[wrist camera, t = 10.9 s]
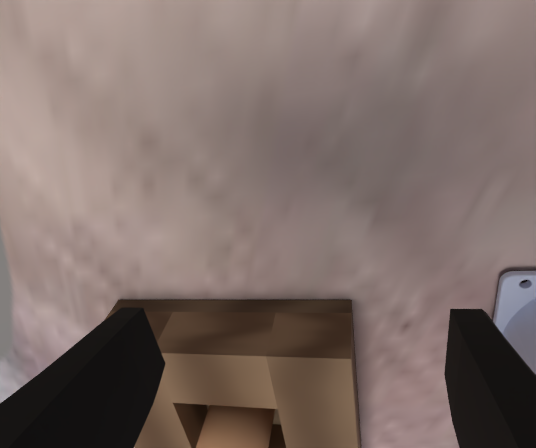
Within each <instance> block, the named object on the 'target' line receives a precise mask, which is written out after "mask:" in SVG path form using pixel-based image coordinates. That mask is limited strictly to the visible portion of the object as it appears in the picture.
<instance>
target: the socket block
mask: <svg viewBox="0 0 536 448" xmlns="http://www.w3.org/2000/svg"><path fill="white" fill-rule="evenodd" d="M122 307H134V308H144V311H145V313H146V316H147V318H148V321H149V323H150V326H151V328H152V331H153V333H154V336H155V338H156V341H157V343H158V346H159V348H160V351H161V353H162V356H163V358H164V361H165V363H166V364H165V368H164V371H163V374H162V378H161V381H160V385H159V388H158V391H157V394H156V397H155V400H154V403H153V406H152V408H151V410H150V413H149V415H148V417H147V419H146V422H145V424H144V426H143V428H142V431H141V433H140V435H139V437H138V439H137V442H136V444H135V446H134V447H135V448H196V446H197V443H198V440H199V436H200V433H201V430H202V427H203V424H204V421H205V418H206V415H207V412H208V409H209V406H210V405H219V406H235V407H252V408H268V409H275V413H274V419H273V424H272V430H271V436H270V442H269V447H268V448H361V434H360V419H359V404H358V390H357V375H356V360H355V345H354V330H353V315H352V300H118V302H117V303H116V304H115V306H114V307H113V309H112V310H111V312H110V313H109V314H108V316H107V317H106V319H107V318H108V317H110V316H111V315H112V314H113V313H115V312H116V311H117V310H119V309H120V308H122ZM106 319H105V320H106Z"/></svg>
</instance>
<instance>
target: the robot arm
mask: <svg viewBox="0 0 536 448" xmlns="http://www.w3.org/2000/svg"><path fill="white" fill-rule="evenodd" d="M523 280H528V281H527V282H525V283H520V282H521V281H523ZM165 364H166V363H165V361H164V358H163V356H162V353H161V351H160V348H159V346H158V343H157V341H156V338H155V336H154V333H153V331H152V328H151V326H150V323H149V321H148V318H147V316H146V313H145V311H144V308H134V307H122V308H120V309H119V310H117V311H116V312H115V313H113V314H112V315H111V316H110V317H108V318H107V319H106V320H104V321H103V322H102V323H101V324H100V325H98V326H97V327H96V328H95V329H93V330H92V331H91V332H90V333H89V334H87V335H86V336H85V337H84V338H83V339H81V340H80V341H79V342H78V343H76V344H75V345H74V346H73V347H72V348H70V349H69V350H68V351H67V352H66V353H64V354H63V355H62V356H61V357H59V358H58V359H57V360H56V361H54V362H53V363H52V364H51V365H50V366H48V367H47V368H46V369H45V370H43V371H42V372H41V373H40V374H38V375H37V376H36V377H34V378H33V379H32V380H31V381H29V382H28V383H27V384H25V385H24V386H23V387H21V388H20V389H19V390H17V391H16V392H15V393H14V394H12V395H11V396H10V397H8V398H7V399H6V400H4V401H3V402H2V403H1V404H0V448H134V446H135V444H136V442H137V439H138V437H139V435H140V433H141V431H142V428H143V426H144V424H145V422H146V419H147V417H148V415H149V413H150V410H151V408H152V406H153V403H154V400H155V397H156V394H157V391H158V388H159V385H160V381H161V378H162V374H163V371H164V368H165ZM445 380H446V386H447V392H448V399H449V405H450V410H451V416H452V422H453V425H454V429H455V433H456V436H457V440H458V444H459V447H460V448H536V271H510V272H507V273H504V274H503V275H502V276H501V278H500V280H499V287H498V293H497V299H496V305H495V311H494V318H493V321H492V320H491V318H490V317H489V316H488V314H487V313H486V312H484V311H483V310H482V309H450V320H449V331H448V342H447V353H446V364H445Z"/></svg>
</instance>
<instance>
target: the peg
mask: <svg viewBox="0 0 536 448" xmlns="http://www.w3.org/2000/svg"><path fill="white" fill-rule="evenodd" d="M274 413H275V409H268V408H252V407H235V406H219V405H210V406H209V409H208V412H207V415H206V418H205V421H204V424H203V427H202V430H201V433H200V436H199V440H198V443H197V446H196V448H268V447H269V442H270V436H271V430H272V424H273V419H274Z"/></svg>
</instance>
